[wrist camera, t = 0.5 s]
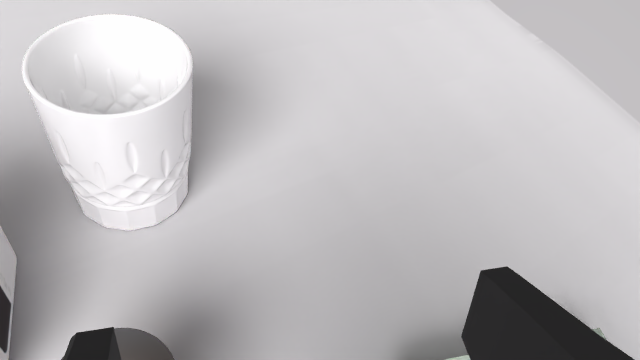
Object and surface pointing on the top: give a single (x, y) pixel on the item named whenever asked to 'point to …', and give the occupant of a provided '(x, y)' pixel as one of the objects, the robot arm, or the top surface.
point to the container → (6, 293)
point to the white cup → (116, 114)
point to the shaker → (140, 345)
